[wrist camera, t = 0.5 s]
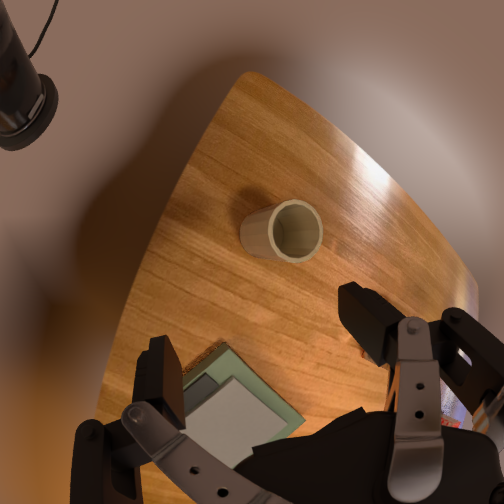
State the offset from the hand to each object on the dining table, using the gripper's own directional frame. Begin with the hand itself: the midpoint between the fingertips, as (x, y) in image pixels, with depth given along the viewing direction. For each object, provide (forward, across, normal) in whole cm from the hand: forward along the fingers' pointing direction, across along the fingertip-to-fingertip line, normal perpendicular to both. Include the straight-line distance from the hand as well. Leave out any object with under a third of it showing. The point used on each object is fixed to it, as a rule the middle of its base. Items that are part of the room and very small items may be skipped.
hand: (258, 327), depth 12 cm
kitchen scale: (+12, +6, +25) cm, 28 cm away
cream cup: (+21, -5, +4) cm, 22 cm away
